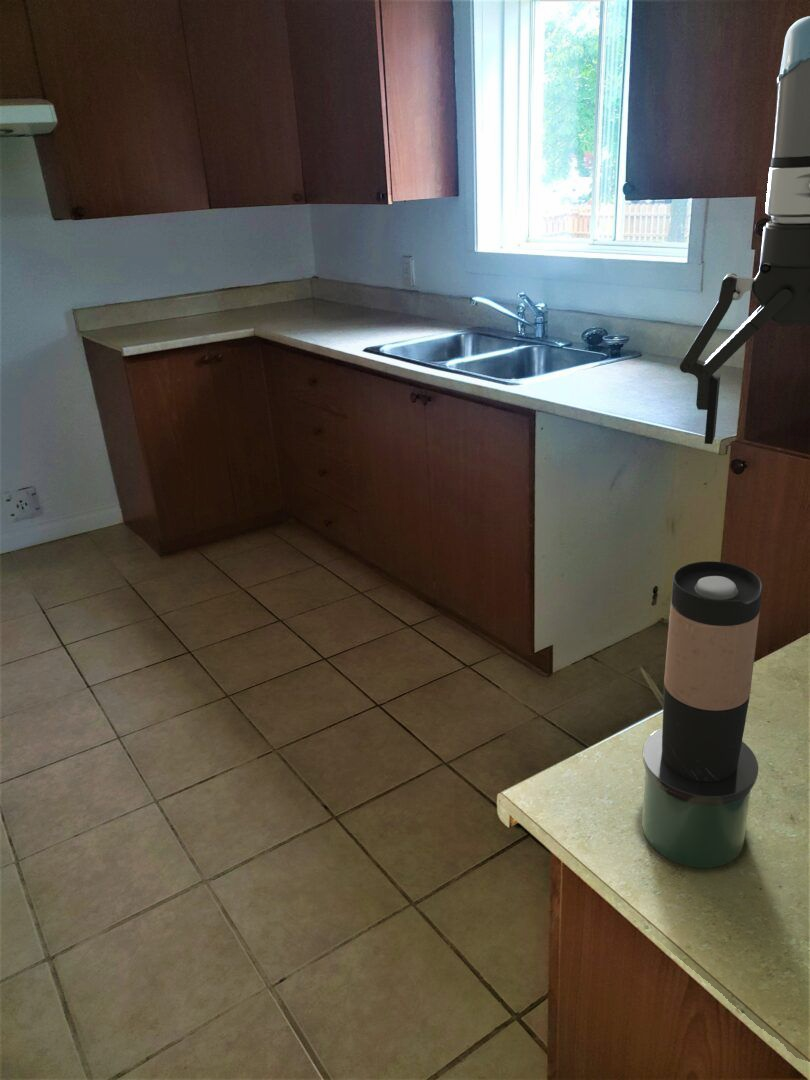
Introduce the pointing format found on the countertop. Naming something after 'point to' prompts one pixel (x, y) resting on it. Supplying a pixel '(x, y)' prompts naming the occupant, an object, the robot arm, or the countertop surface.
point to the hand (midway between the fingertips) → (781, 444)
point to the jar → (695, 809)
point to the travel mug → (709, 668)
